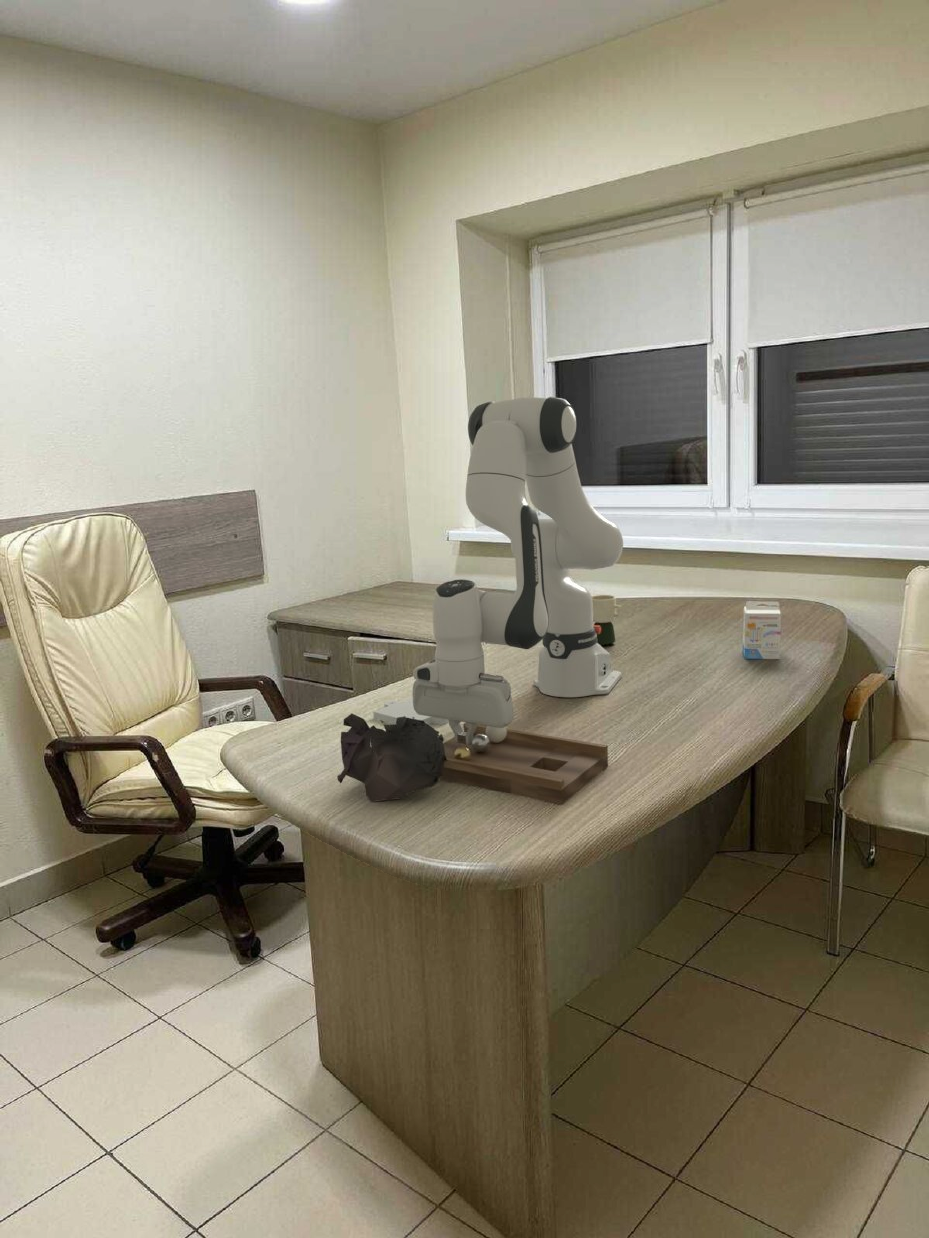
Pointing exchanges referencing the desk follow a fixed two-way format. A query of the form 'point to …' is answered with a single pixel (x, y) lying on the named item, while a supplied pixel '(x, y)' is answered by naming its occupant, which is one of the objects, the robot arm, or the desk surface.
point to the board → (528, 765)
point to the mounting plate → (404, 713)
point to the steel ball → (480, 743)
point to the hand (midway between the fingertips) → (464, 742)
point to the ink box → (761, 630)
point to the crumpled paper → (392, 756)
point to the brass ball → (462, 754)
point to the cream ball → (496, 734)
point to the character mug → (605, 617)
